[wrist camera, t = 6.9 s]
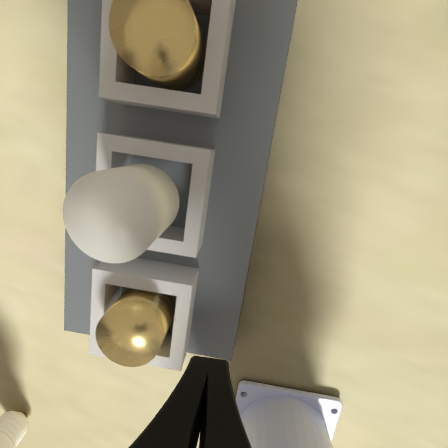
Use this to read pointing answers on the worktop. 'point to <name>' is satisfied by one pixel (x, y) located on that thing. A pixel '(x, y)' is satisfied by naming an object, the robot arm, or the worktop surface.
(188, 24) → the brass knob
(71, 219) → the white middle knob
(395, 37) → the worktop surface
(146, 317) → the brass knob
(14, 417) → the lightbulb
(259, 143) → the knob mount
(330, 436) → the robot arm
